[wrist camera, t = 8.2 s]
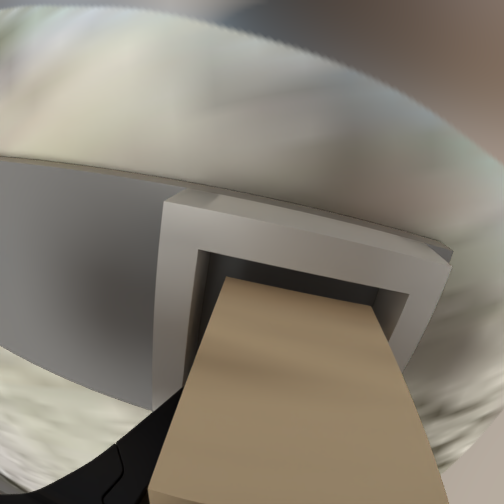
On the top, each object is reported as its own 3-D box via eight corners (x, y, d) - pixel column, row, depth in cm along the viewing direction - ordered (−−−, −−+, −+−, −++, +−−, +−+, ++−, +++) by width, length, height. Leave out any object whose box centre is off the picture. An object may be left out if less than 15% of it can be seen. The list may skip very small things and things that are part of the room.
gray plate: (440, 241, 10) (483, 275, 7) (349, 430, 13) (356, 478, 11) (-20, 154, 10) (-66, 165, 7) (-1, 330, 14) (-32, 357, 11)
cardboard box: (303, 445, 11) (303, 590, 5) (200, 428, 11) (161, 573, 5) (370, 306, 8) (451, 514, 2) (226, 276, 8) (142, 501, 2)
